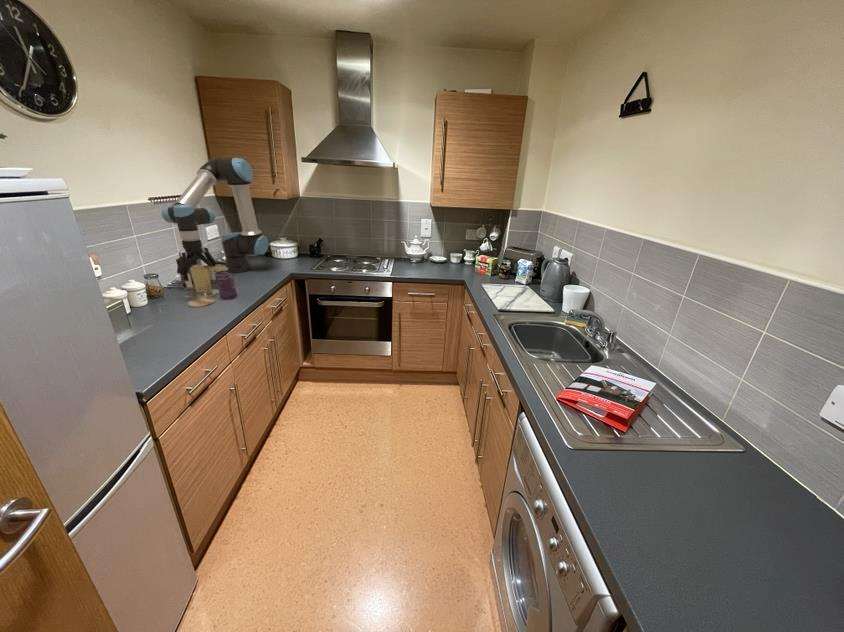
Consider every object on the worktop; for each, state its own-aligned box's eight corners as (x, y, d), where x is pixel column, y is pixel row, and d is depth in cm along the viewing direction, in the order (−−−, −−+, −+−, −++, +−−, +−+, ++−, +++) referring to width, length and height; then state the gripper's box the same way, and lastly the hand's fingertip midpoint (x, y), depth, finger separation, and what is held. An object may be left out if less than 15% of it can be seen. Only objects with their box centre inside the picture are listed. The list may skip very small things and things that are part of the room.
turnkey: (201, 290, 163) (194, 264, 157) (234, 294, 159) (228, 267, 153) (196, 292, 160) (189, 265, 155) (229, 295, 156) (223, 268, 151)
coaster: (202, 298, 157) (201, 296, 156) (221, 300, 155) (220, 298, 154) (181, 306, 147) (181, 304, 147) (201, 308, 145) (201, 306, 144)
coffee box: (183, 290, 167) (174, 259, 161) (188, 286, 173) (180, 256, 167) (203, 289, 170) (195, 258, 163) (207, 285, 175) (200, 256, 169)
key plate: (205, 290, 168) (204, 287, 167) (224, 292, 166) (224, 289, 165) (184, 297, 157) (184, 294, 157) (205, 299, 155) (204, 297, 154)
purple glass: (233, 294, 163) (228, 271, 158) (239, 297, 159) (234, 273, 154) (218, 297, 158) (212, 274, 153) (224, 301, 154) (218, 276, 149)
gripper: (206, 235, 163) (215, 276, 171) (158, 243, 140) (172, 289, 148) (218, 236, 161) (227, 277, 169) (173, 244, 139) (185, 291, 147)
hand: (201, 283), depth 159 cm, fingers open, 13 cm apart
